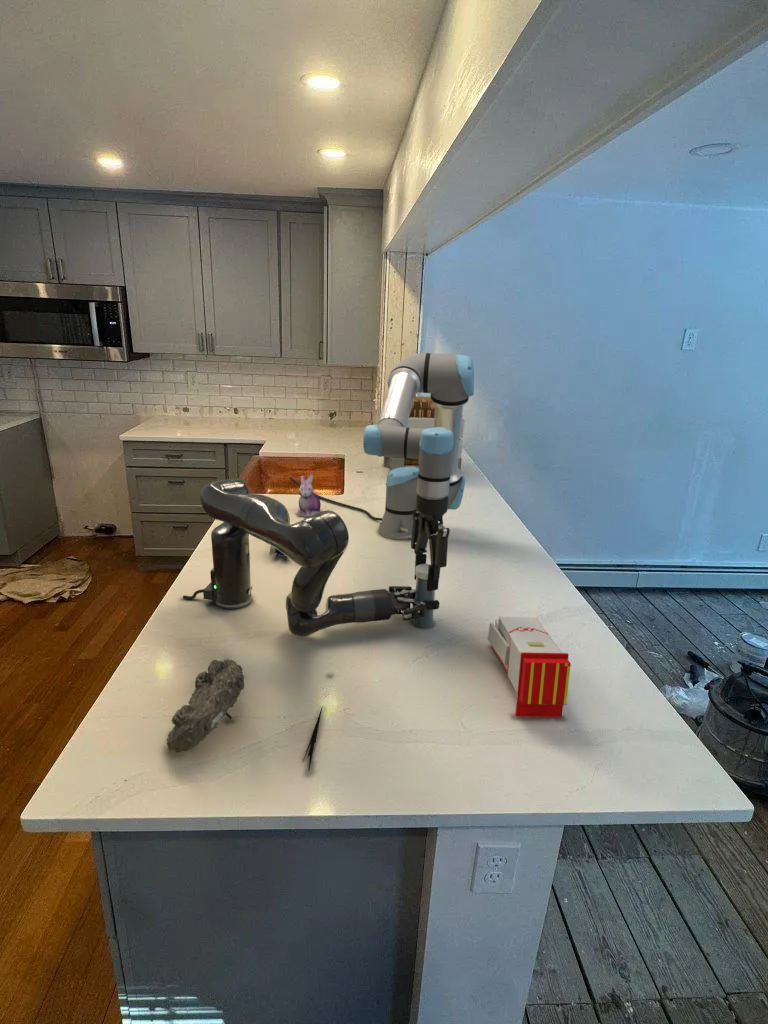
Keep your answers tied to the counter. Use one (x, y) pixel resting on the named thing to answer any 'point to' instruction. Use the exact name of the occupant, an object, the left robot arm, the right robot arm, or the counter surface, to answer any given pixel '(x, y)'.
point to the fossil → (206, 705)
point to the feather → (313, 740)
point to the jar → (423, 596)
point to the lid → (422, 571)
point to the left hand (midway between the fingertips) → (434, 599)
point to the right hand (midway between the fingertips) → (425, 583)
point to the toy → (531, 665)
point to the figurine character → (274, 550)
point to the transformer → (421, 419)
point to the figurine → (308, 498)
